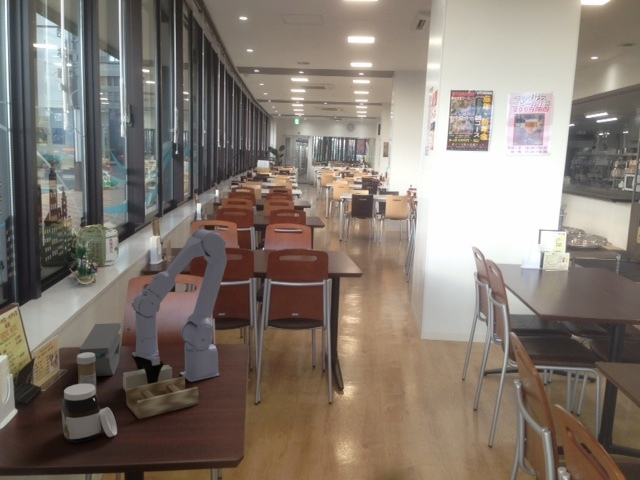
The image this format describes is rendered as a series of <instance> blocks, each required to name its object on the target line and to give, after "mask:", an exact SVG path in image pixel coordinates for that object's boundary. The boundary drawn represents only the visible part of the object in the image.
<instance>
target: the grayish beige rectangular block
mask: <svg viewBox="0 0 640 480" xmlns="http://www.w3.org/2000/svg"><path fill="white" fill-rule="evenodd" d="M169 379H173V368H172V366H170V365H169V364H166V365H165V364H164V365H163V367H162V369H161V371H160V373H159V377H158V382H160V381H164V380H169ZM146 384H148V382H147V376H146V372H145V370H144V369H142V370H138V369H137V370H133V371H132V370H131V371H126V372H122V385H123V386H122V387H123V390H125V391H124V392H125V393H126V389H128V388H133V387H137V386H142V385H146Z"/></svg>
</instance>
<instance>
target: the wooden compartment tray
mask: <svg viewBox="0 0 640 480" xmlns="http://www.w3.org/2000/svg"><path fill="white" fill-rule="evenodd" d="M125 398H126V399H125V400H126V406H127V407H128V409H130V411H131V412H132V413H133V414H134V415H135V417H136V419H138V420H141V419H142V420H143V419H146V418H149V417H152V416H156V415H157V416H158V415H161V414H164V413H169V412H173V411H176V410H180V409H185V408H189V407H192V406H196V405H199V388H198V386H194V387H190V388H186V378H185V377H184V376H179V377H174V378H173V377H172V379H169V380H164V381H160V382H155V383H151V384H146V385H142V386H137V387H133V388H128V389H126V392H125Z"/></svg>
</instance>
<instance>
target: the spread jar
mask: <svg viewBox="0 0 640 480" xmlns="http://www.w3.org/2000/svg"><path fill="white" fill-rule="evenodd" d="M95 393H96V395H95ZM63 397H64V398H63V399H62V401H61V417H62V418H61V419H62V420H61V421H62V431H63V436H64V438H65V440H66V441H68V442H69V443H72V442H73V443H75V444H76V443H77V444H81V443H80V442H82V443H86V442H90V441H92V440H93V438H94V439H95V438H96V437H98V436H99V435H100V433H101V429H103V431H104V433H105V435H106V436H107V437H108V438H111V437H115V436H116V435H117V434H118V427H117V422H116V419H115V416H114V414H113V413H114V412H113V411H112V410H111V408H109V407H108V406H107V407H103V408H100V401H99V399H98V397H97V391H96V392H95V386H94V385H92V384H78V383H77V384H73V385H70V386H67V387H66V388H65V389H64V390H63ZM101 426H102V428H101ZM91 439H92V440H91Z"/></svg>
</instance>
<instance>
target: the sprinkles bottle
mask: <svg viewBox="0 0 640 480" xmlns="http://www.w3.org/2000/svg"><path fill="white" fill-rule="evenodd" d="M76 363H77V375H78V376H77V377H78V381H77V382H78V383H77V384H92V385H94V386H95V392H96V393H95V395H96V396H97V376H96V372H95V354H94V353H91V352H86V353H81V354H79V353H78V354H77V355H76Z"/></svg>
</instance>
